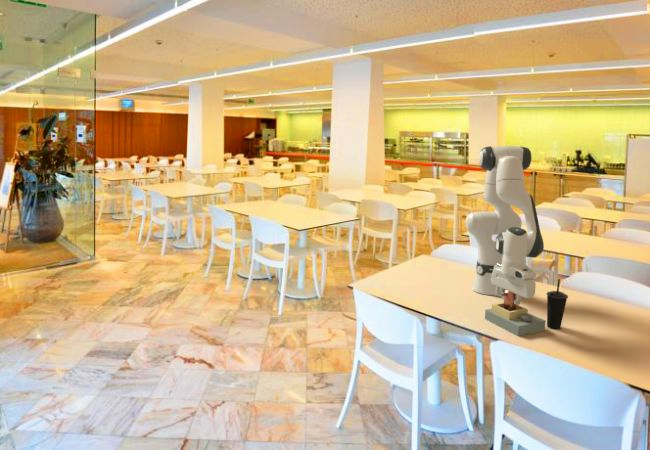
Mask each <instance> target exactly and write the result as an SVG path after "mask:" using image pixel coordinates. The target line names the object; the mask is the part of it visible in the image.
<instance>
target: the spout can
mask: <svg viewBox="0 0 650 450" xmlns="http://www.w3.org/2000/svg"><path fill="white" fill-rule="evenodd" d="M502 296H504V299H503V302H504V303H503V302H502V303H503V308H504V309H506V310H508V311H514V310H516V307H517V305H515V304H514V300H516V298H517V297H516V294H514V293H512V292H510V291H507V290H505V292H504V293H502Z"/></svg>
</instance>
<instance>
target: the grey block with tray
mask: <svg viewBox="0 0 650 450" xmlns="http://www.w3.org/2000/svg"><path fill="white" fill-rule="evenodd" d="M503 303H504V301H503V302H498V303H494V304H491V308H488V309H485V311H484V320H486V321H488V322H489V323H492V324H493V325H496V326H498V327H499V328H502V329H504V330H505V331H506V332H507V331H508V332H510V333H511V334H513V335H515V336H517V337H519V336H525V335H529V334H534V333H539V332H542V331H546V323H547V320H544V319H542V318H540V317H538V316H536V315H534V314H531V313H529V312H528V308H526V307H525V306H522V305H520V304H519V305H517V307H516V310H514V311H508V310H506V309H504V308H503Z"/></svg>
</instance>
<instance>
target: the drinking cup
mask: <svg viewBox="0 0 650 450" xmlns="http://www.w3.org/2000/svg"><path fill="white" fill-rule="evenodd" d="M560 283H561V279H560V278H557V285H556V286H557V287H556V290H552V291H548V292H546V298H547V299H546V305H547V306H546V311H547V312H546V326H547V328H548V329H552V330H560V329H561V327H562V322H563V318H564V315H565V308H566V304H567V300H568V298H569V295H568V294H567V293H565V292H562V291H560Z"/></svg>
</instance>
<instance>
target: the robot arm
mask: <svg viewBox="0 0 650 450" xmlns="http://www.w3.org/2000/svg"><path fill="white" fill-rule="evenodd" d="M531 163H532V152H531V150H530V148H529V147H525V146H514V145H501V146H500V145H499V146H496V145H495V146H486V147H483V148H481V150H480V152H479V154H478V164H479V167H480V168H481V169H482V170H484V171H486V173H485V179H484V189H483V190H484V191H483V199H484V201H485V203H487V204H489V205H491V206H493V207H494V211H473V212H470V213H468V215H467V216H466V218H465V224H464V225H465V228H466V230H467V232H468V233H470V234H471V235H472V236H473V237H474V239H475V240H476V243H477V247H478V254H477V255H478V258H477V261H476V272H475V277H474V282H473V284H472V288H471V289H472V291H474V292H475V293H478V294H482V295H487V296H495V297H501V299H502V300H504V296H502V293H504V292H505V290H507V291H510V292H512V293H514V294H516V297H517V298H516V300H514V304H515V305H520V303H521V300H522V299H523V298H525V299H528V300H529V299H532V298H534V297H535V295H536V280H535V279H536V277H537V274H536V272H535V271H534V270H532V269H531V268H530V267H529V266H528V265H527V259H526V258H533V259H536V258H537V257H538V256H540V255H542V253H543V252H544V250H545V249H544V248H545V247H544V245H545V244H544V239H543V236H542V233H541V229H540V223H539V219H538V212H537V208H536V204H535V200H534V197H533V195H531V194H530V193H528V191H527V189H526V187H525V175H524V171H526V170H527V169H529V167H530V165H531ZM512 206H513V207H515V208H517V209H519V210H521V211H522V213H523V215H524V217H525V219H524V220H525V224H526V229H527V230H526V229H524V228H522V225H523V222H522V219H521V217H520V216H519V214H517V212H515V210H514V209H513V208H512ZM493 236H496V237H495V241H494V240H493Z"/></svg>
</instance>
